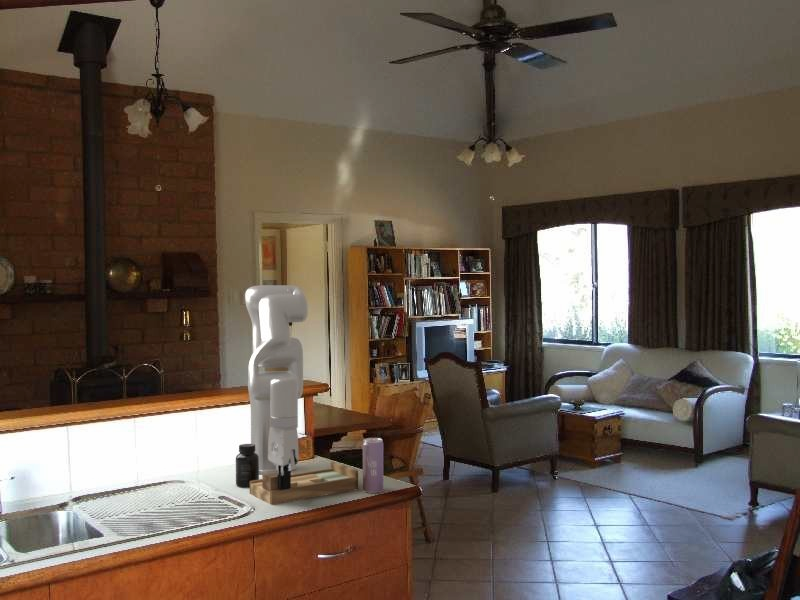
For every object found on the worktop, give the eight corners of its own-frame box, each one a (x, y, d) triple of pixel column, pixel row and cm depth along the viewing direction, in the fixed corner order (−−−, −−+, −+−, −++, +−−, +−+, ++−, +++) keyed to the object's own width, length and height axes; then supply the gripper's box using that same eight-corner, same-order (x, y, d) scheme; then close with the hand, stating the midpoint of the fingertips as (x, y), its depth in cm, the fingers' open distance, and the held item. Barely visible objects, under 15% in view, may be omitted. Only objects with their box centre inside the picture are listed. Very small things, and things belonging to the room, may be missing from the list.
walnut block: (262, 488, 228) (262, 473, 228) (281, 485, 232) (281, 471, 232) (270, 492, 224) (270, 477, 224) (289, 488, 228) (289, 474, 228)
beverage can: (384, 488, 240) (384, 437, 239) (381, 494, 234) (382, 442, 233) (364, 488, 240) (364, 437, 240) (361, 493, 234) (361, 441, 234)
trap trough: (249, 493, 234) (249, 474, 234) (333, 479, 250) (333, 461, 250) (271, 504, 223) (271, 484, 222) (358, 489, 239) (358, 470, 239)
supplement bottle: (263, 484, 245) (263, 444, 244) (248, 489, 239) (248, 448, 238) (246, 481, 248) (246, 441, 248) (230, 486, 242) (230, 445, 242)
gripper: (259, 419, 227) (259, 485, 228) (284, 428, 215) (284, 497, 216) (283, 417, 232) (283, 481, 232) (309, 425, 220) (309, 492, 220)
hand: (284, 488), depth 224 cm, fingers closed
